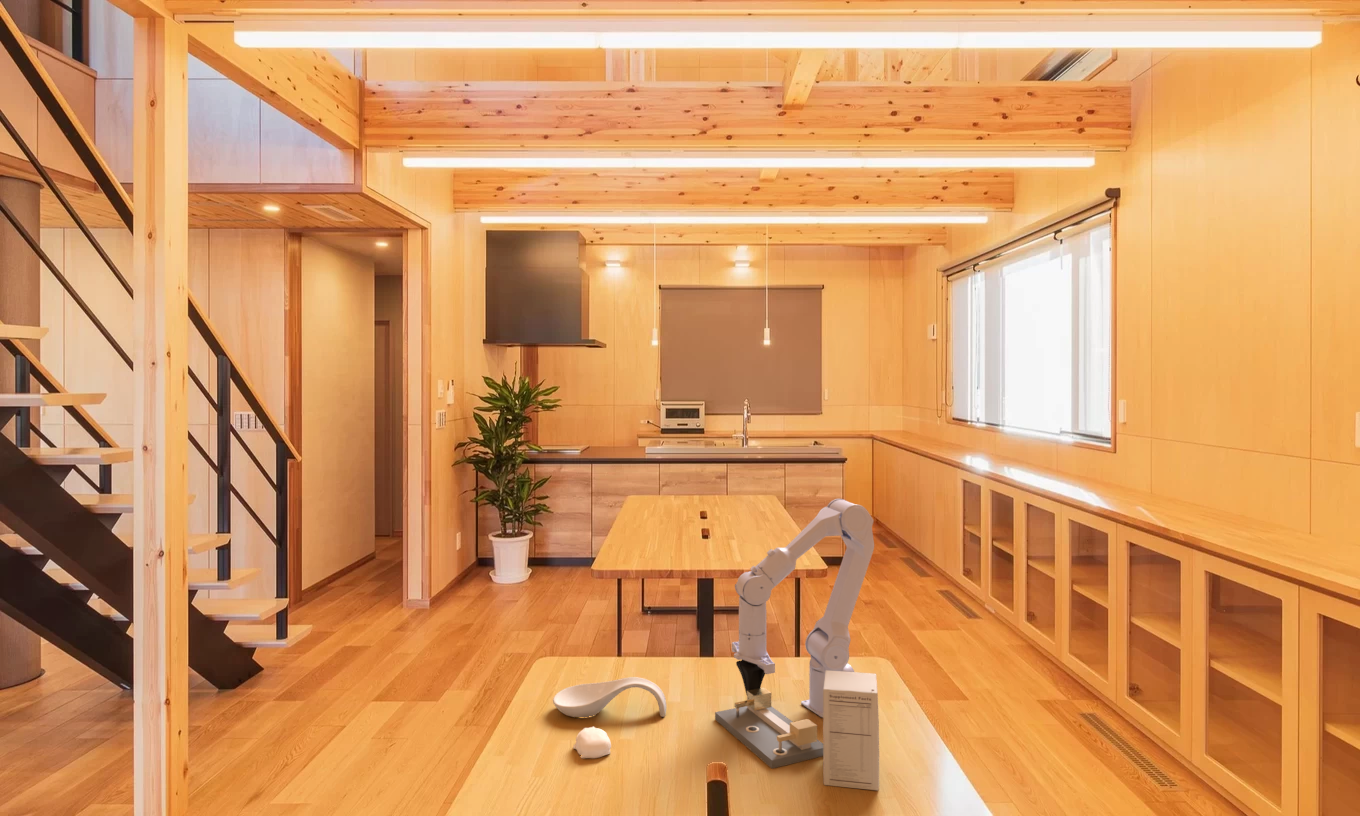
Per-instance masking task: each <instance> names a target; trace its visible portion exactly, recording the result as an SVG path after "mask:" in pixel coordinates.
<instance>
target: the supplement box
mask: <svg viewBox="0 0 1360 816" xmlns="http://www.w3.org/2000/svg"><path fill="white" fill-rule="evenodd" d="M877 679H878V678H877V674H876V673H872V672H871V673H870V672H859V671H858V672H857V671H854V672H844V671H829V670H826V671H825V681H824V688H823V717H822V719H823V721H822V722H823V723H822V737H823V742H822V743H823V756H822V757H823V762H822V763H823V764H822V765H823V768H822V769H823V770H822V771H823V773H822V774H823V785H824V786H831V787H832V786H833V787H841V788H842V787H843V788H852V789H861V790H871V791H879V790H880V729H879V727H880V725H879V723H880V719H879V716H880V715H879V695H878V681H877Z"/></svg>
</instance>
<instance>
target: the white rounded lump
mask: <svg viewBox="0 0 1360 816" xmlns="http://www.w3.org/2000/svg"><path fill="white" fill-rule="evenodd" d="M573 749H575V750H576V751H577V754H578V755H579V757H581V758H580V759H597V758H598V759H599V758H602V757H604V756H607V755H610V754H611V749H612V743H611V739H610V737H609V736H608V733H607V732H606V731H604V730H603V729H601V728H597V727H595V726H590V727H583V729H582V730H580V731H579V732H578V734H577V735H576V737H575V744H573ZM580 755H582V756H580Z"/></svg>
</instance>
